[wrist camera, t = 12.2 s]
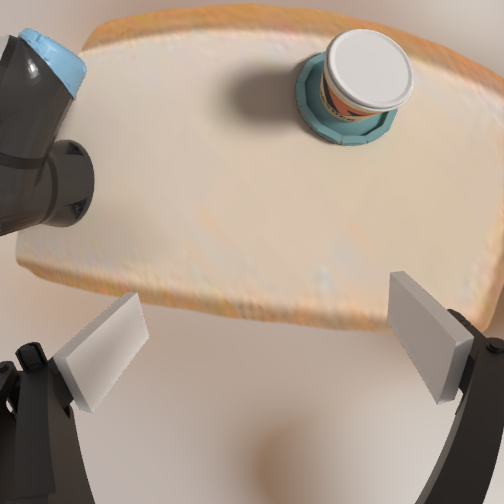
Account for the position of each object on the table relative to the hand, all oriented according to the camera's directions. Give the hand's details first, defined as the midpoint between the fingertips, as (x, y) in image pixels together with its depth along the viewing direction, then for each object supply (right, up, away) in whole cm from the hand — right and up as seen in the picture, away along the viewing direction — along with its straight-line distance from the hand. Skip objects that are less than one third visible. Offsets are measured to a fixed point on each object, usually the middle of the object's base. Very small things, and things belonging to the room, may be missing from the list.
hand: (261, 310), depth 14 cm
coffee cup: (+12, +24, +19) cm, 33 cm away
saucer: (+12, +24, +20) cm, 33 cm away
